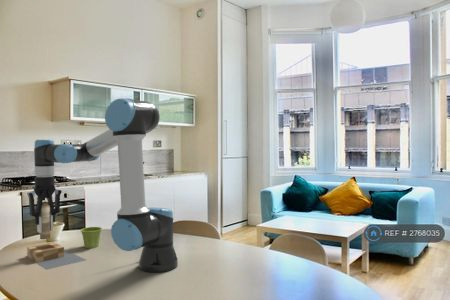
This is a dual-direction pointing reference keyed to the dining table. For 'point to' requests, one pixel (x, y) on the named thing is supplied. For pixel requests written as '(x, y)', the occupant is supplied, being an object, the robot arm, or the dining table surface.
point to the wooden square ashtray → (45, 252)
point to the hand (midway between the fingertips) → (45, 231)
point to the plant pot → (91, 236)
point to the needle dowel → (45, 220)
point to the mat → (60, 260)
